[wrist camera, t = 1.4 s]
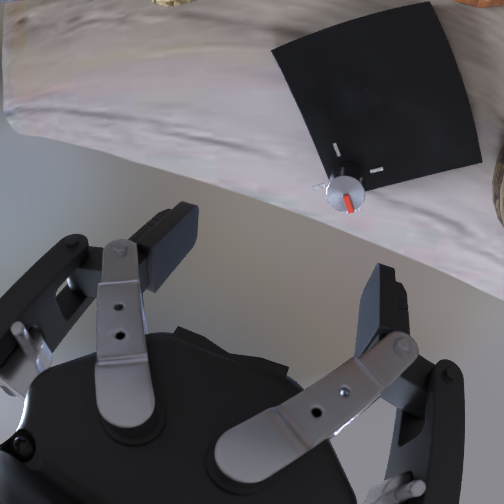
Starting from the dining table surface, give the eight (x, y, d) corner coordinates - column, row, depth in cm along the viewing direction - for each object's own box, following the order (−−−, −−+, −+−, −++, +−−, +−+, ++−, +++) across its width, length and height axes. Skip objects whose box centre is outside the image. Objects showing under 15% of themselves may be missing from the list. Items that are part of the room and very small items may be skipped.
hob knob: (325, 166, 30) (319, 183, 27) (358, 157, 29) (358, 172, 25) (337, 197, 32) (333, 218, 28) (369, 189, 30) (370, 208, 26)
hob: (260, 58, 28) (252, 58, 26) (424, 5, 19) (429, 0, 17) (327, 209, 36) (325, 219, 34) (478, 171, 27) (485, 180, 24)
